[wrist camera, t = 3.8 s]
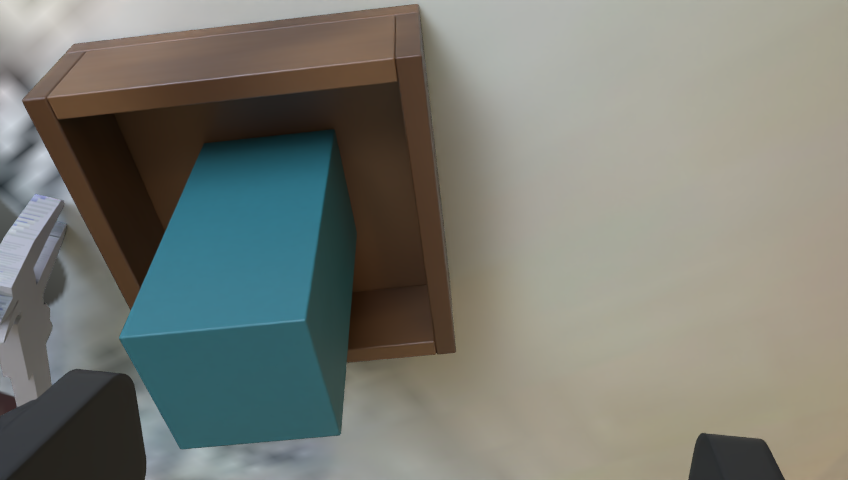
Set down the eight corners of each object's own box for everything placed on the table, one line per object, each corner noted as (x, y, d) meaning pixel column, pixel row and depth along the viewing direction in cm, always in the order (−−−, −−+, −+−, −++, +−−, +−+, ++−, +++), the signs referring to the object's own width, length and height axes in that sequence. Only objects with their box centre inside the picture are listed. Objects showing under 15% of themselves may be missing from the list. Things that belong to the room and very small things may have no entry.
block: (334, 128, 26) (305, 320, 18) (357, 233, 29) (341, 436, 21) (203, 142, 26) (117, 338, 18) (239, 245, 29) (180, 450, 21)
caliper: (40, 183, 28) (-38, 289, 23) (68, 190, 28) (-3, 296, 23) (43, 466, 40) (-8, 576, 35) (63, 469, 40) (15, 578, 35)
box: (418, 2, 24) (421, 54, 20) (450, 283, 32) (456, 353, 28) (72, 43, 24) (20, 100, 21) (190, 308, 32) (165, 380, 29)
